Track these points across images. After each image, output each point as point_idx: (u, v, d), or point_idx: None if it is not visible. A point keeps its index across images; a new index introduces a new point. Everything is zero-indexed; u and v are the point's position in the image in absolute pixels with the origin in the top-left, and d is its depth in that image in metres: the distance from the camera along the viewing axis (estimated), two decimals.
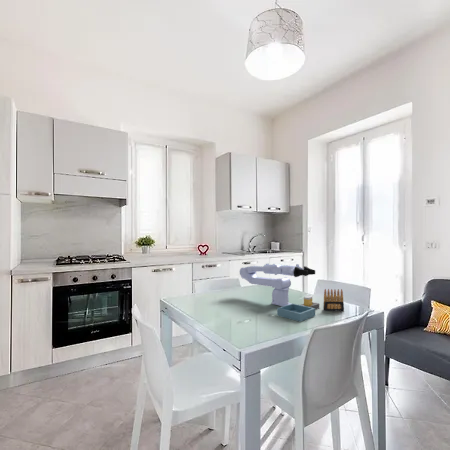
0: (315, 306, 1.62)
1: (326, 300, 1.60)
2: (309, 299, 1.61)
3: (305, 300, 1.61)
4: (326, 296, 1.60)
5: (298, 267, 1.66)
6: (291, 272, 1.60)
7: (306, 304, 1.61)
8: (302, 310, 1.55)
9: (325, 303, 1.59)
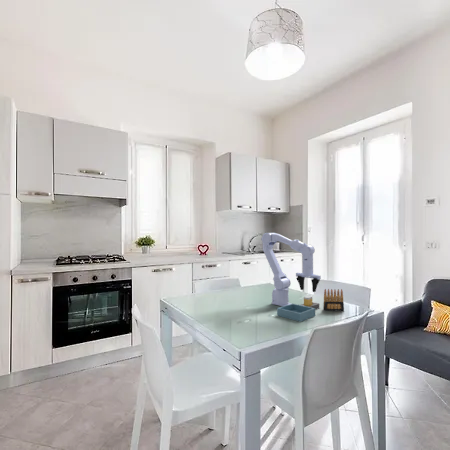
0: (315, 306, 1.62)
1: (326, 300, 1.60)
2: (309, 299, 1.61)
3: (305, 300, 1.61)
4: (326, 296, 1.60)
5: None
6: (319, 278, 1.57)
7: (306, 304, 1.61)
8: (302, 310, 1.55)
9: (325, 303, 1.59)
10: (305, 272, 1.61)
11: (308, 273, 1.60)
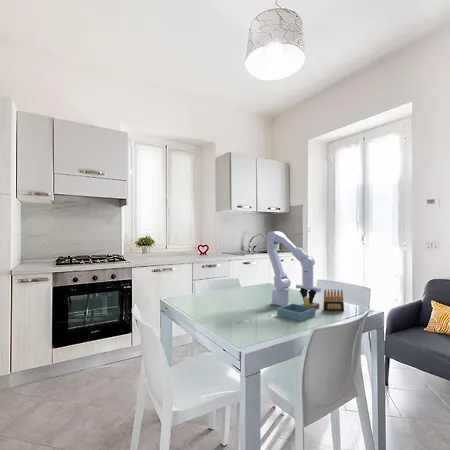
0: (315, 306, 1.62)
1: (326, 300, 1.60)
2: None
3: (305, 300, 1.61)
4: (326, 296, 1.60)
5: None
6: (319, 290, 1.57)
7: (306, 304, 1.61)
8: (302, 310, 1.55)
9: (325, 303, 1.59)
10: (305, 284, 1.61)
11: (308, 285, 1.60)
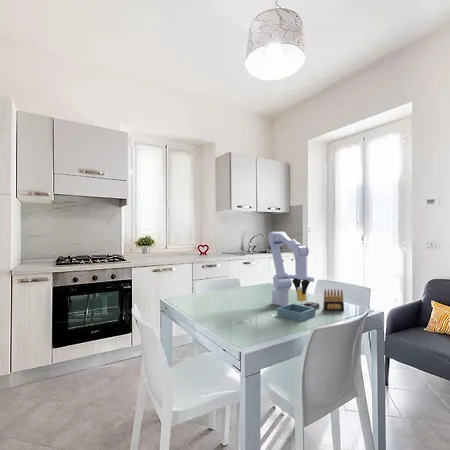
0: (315, 306, 1.62)
1: (326, 300, 1.60)
2: None
3: (298, 291, 1.55)
4: (326, 296, 1.60)
5: None
6: (313, 280, 1.50)
7: (299, 295, 1.54)
8: (302, 310, 1.55)
9: (325, 303, 1.59)
10: (298, 274, 1.53)
11: (301, 275, 1.53)
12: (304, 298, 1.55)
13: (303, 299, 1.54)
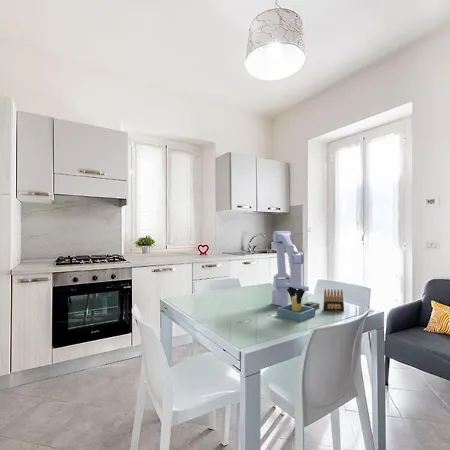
0: (315, 306, 1.62)
1: (326, 300, 1.60)
2: None
3: (293, 300, 1.50)
4: (326, 296, 1.60)
5: None
6: (307, 289, 1.45)
7: (294, 304, 1.50)
8: (302, 310, 1.55)
9: (325, 303, 1.59)
10: (292, 283, 1.49)
11: (295, 284, 1.48)
12: (299, 308, 1.50)
13: (298, 309, 1.50)
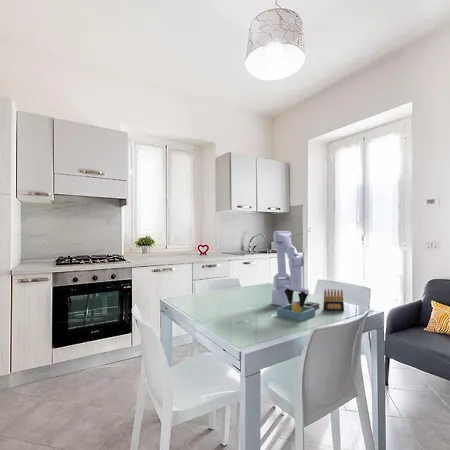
0: (315, 306, 1.62)
1: (326, 300, 1.60)
2: (297, 303, 1.49)
3: (293, 304, 1.50)
4: (326, 296, 1.60)
5: None
6: (307, 292, 1.45)
7: (294, 308, 1.50)
8: (302, 310, 1.55)
9: (325, 303, 1.59)
10: (292, 285, 1.49)
11: (295, 286, 1.48)
12: (299, 312, 1.50)
13: None
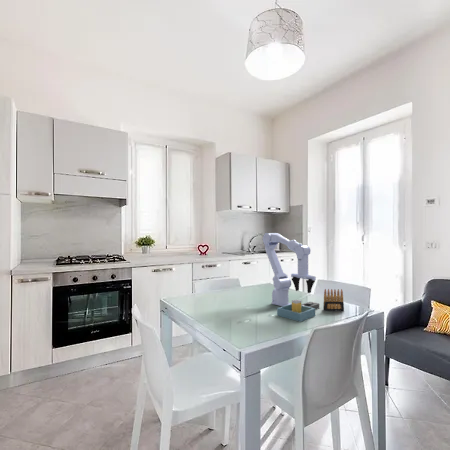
0: (315, 306, 1.62)
1: (326, 300, 1.60)
2: (297, 303, 1.49)
3: (293, 304, 1.50)
4: (326, 296, 1.60)
5: None
6: (314, 279, 1.55)
7: (294, 308, 1.50)
8: (302, 310, 1.55)
9: (325, 303, 1.59)
10: (300, 273, 1.58)
11: (303, 274, 1.58)
12: (299, 312, 1.50)
13: None
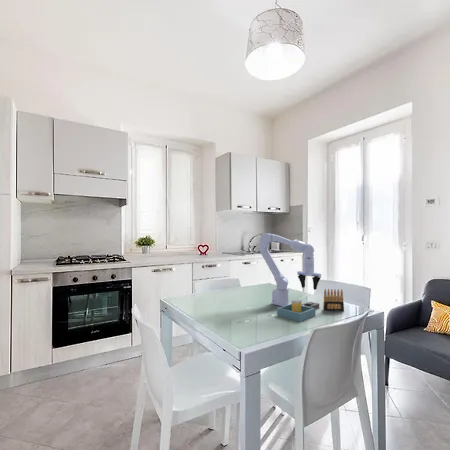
0: (315, 306, 1.62)
1: (326, 300, 1.60)
2: (297, 303, 1.49)
3: (293, 304, 1.50)
4: (326, 296, 1.60)
5: None
6: (320, 276, 1.63)
7: (294, 308, 1.50)
8: (302, 310, 1.55)
9: (325, 303, 1.59)
10: (306, 270, 1.67)
11: (309, 271, 1.66)
12: (299, 312, 1.50)
13: None
